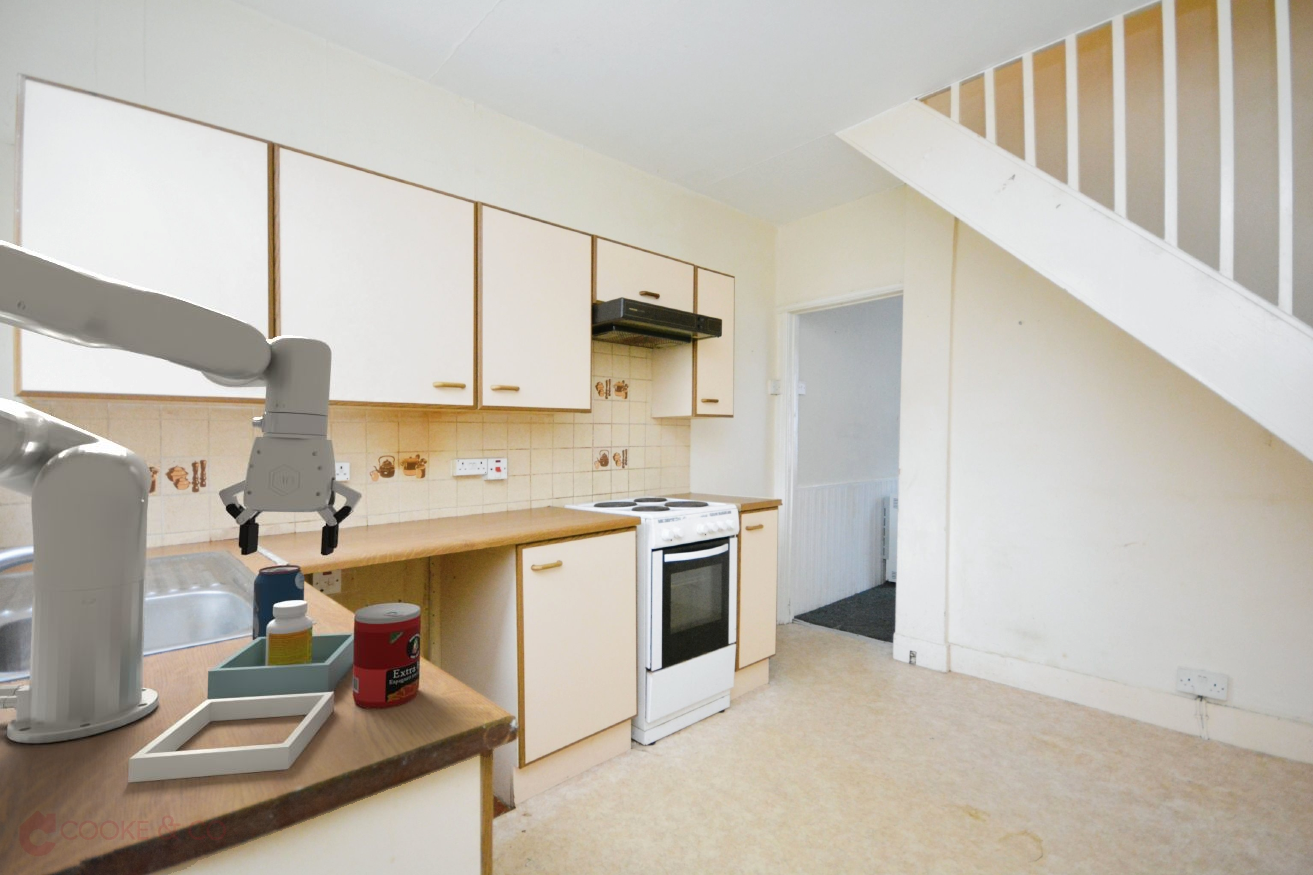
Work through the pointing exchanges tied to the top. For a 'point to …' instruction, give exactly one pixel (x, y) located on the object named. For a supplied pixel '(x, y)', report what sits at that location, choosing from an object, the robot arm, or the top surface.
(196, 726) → the white frame
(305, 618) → the supplement bottle
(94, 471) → the robot arm
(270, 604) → the soda can
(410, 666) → the canned food
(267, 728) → the top surface
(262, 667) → the teal bin
